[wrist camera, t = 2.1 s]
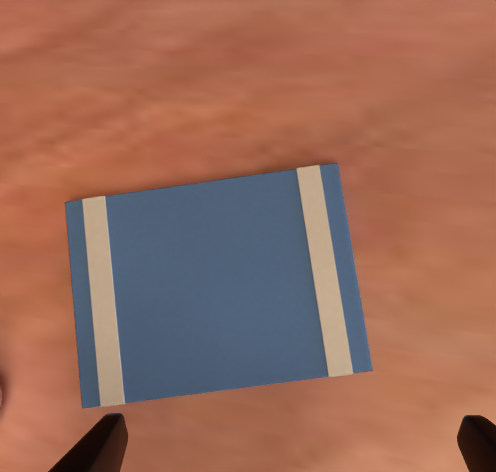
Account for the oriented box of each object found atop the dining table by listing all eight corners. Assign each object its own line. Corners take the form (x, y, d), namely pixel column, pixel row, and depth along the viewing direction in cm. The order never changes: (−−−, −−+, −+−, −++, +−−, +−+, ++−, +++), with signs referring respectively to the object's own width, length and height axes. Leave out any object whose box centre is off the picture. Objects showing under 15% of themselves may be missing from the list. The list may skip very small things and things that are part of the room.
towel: (86, 405, 24) (80, 409, 23) (69, 203, 25) (63, 201, 24) (370, 368, 23) (373, 371, 22) (336, 165, 25) (338, 162, 24)
